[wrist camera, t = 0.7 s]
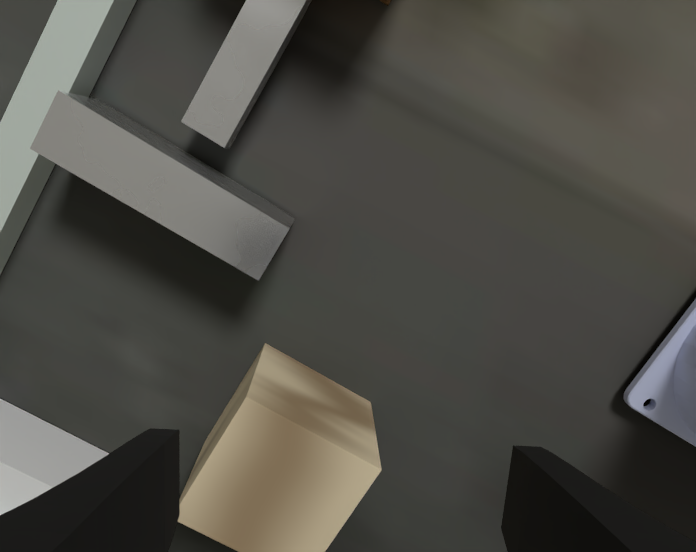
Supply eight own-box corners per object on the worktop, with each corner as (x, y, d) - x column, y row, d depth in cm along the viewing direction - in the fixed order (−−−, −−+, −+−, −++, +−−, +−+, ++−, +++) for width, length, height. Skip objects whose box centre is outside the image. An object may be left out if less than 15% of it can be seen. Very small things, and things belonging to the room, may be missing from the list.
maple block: (370, 401, 22) (381, 469, 18) (308, 493, 23) (303, 583, 18) (265, 342, 22) (246, 396, 17) (205, 439, 23) (171, 518, 18)
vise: (506, -79, 19) (553, -142, 15) (102, 586, 24) (57, 671, 20) (223, -289, 17) (191, -420, 13) (-142, 473, 22) (-243, 540, 18)
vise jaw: (443, -31, 19) (473, -81, 15) (268, 262, 21) (254, 288, 17) (238, -177, 17) (211, -273, 13) (74, 149, 19) (10, 147, 16)
